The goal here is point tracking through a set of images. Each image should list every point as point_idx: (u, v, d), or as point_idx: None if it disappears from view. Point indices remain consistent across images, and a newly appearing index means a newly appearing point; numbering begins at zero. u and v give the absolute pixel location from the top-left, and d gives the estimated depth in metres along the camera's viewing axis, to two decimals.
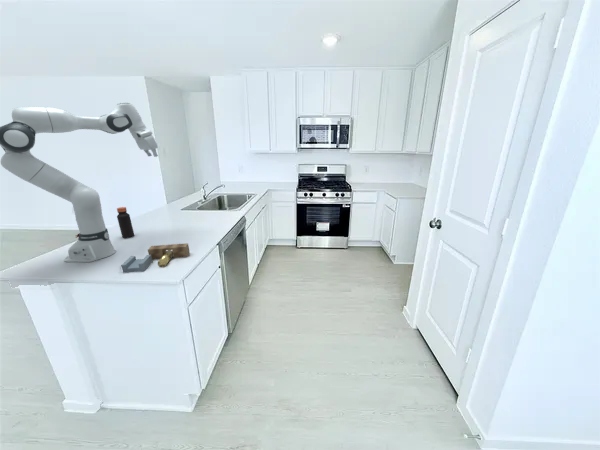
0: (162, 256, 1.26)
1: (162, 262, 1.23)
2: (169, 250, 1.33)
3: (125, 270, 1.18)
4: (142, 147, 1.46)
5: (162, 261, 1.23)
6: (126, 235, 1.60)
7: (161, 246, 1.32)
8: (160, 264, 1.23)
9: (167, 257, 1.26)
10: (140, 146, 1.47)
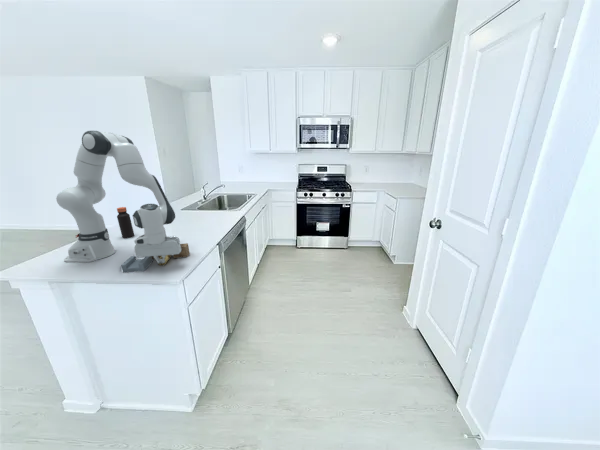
0: None
1: None
2: None
3: (125, 270, 1.18)
4: None
5: None
6: (126, 235, 1.60)
7: None
8: (160, 263, 1.24)
9: (166, 255, 1.27)
10: None
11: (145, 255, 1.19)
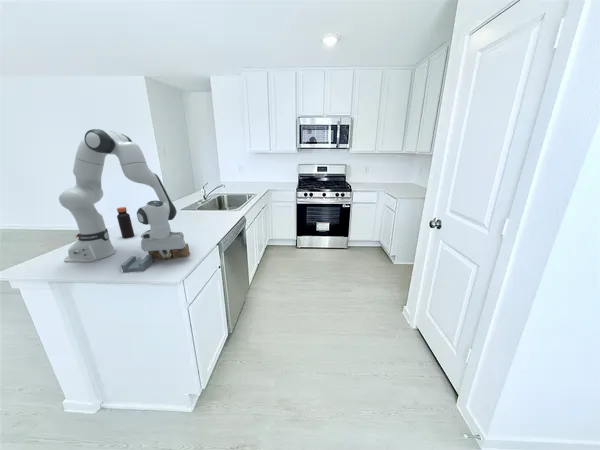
0: (166, 250, 1.34)
1: None
2: None
3: (125, 270, 1.18)
4: None
5: None
6: (126, 235, 1.60)
7: None
8: (164, 257, 1.30)
9: None
10: None
11: (151, 249, 1.25)
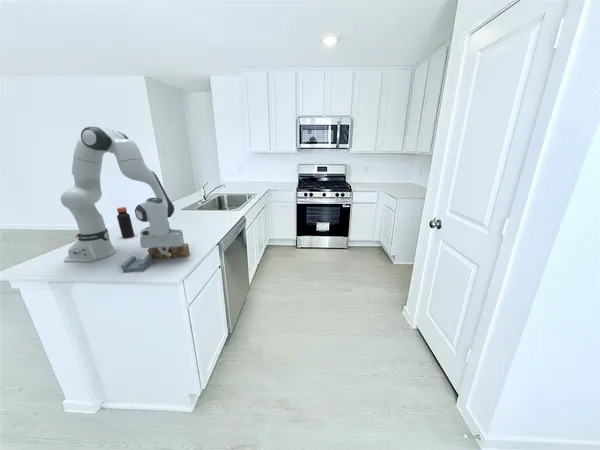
0: None
1: (167, 255, 1.31)
2: None
3: (125, 270, 1.18)
4: None
5: (167, 254, 1.31)
6: (126, 235, 1.60)
7: None
8: (165, 256, 1.31)
9: (171, 250, 1.35)
10: None
11: (150, 246, 1.25)
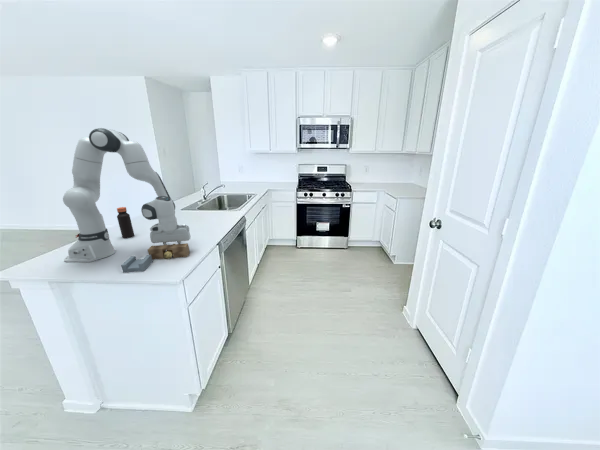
0: None
1: (167, 254, 1.31)
2: None
3: (125, 270, 1.18)
4: None
5: (168, 253, 1.31)
6: (126, 235, 1.60)
7: (161, 246, 1.32)
8: (166, 256, 1.31)
9: None
10: None
11: (159, 241, 1.35)
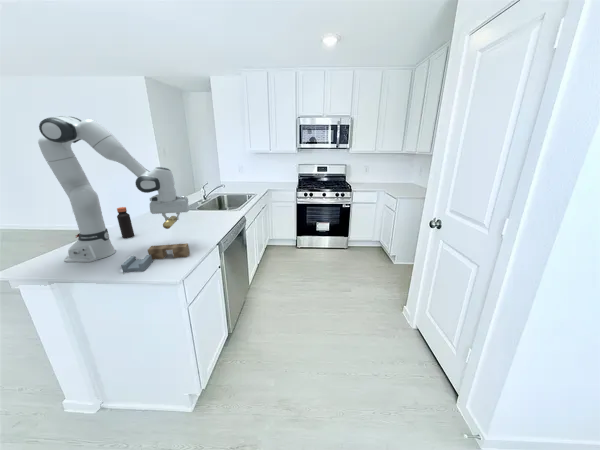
0: (166, 220, 1.36)
1: (166, 224, 1.33)
2: None
3: (125, 270, 1.18)
4: None
5: (167, 223, 1.33)
6: (126, 235, 1.60)
7: (161, 246, 1.32)
8: (165, 226, 1.33)
9: (171, 220, 1.36)
10: None
11: (158, 212, 1.37)
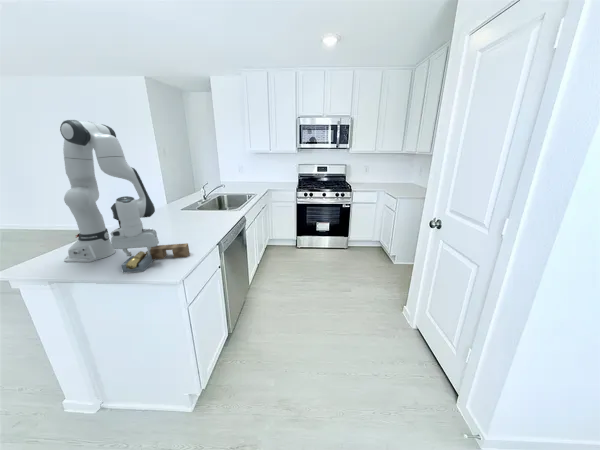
0: (132, 258, 1.20)
1: (131, 264, 1.16)
2: (141, 251, 1.27)
3: (125, 270, 1.18)
4: None
5: (131, 263, 1.16)
6: None
7: (161, 246, 1.32)
8: (129, 266, 1.16)
9: (137, 258, 1.20)
10: None
11: (122, 247, 1.20)
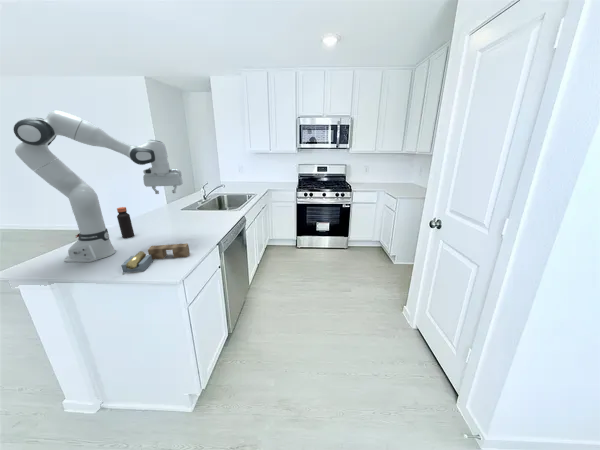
0: (132, 258, 1.20)
1: (131, 264, 1.16)
2: (140, 251, 1.26)
3: (125, 270, 1.18)
4: None
5: (131, 263, 1.16)
6: (126, 235, 1.60)
7: (161, 246, 1.32)
8: (129, 266, 1.16)
9: (137, 258, 1.20)
10: None
11: (152, 185, 1.40)
